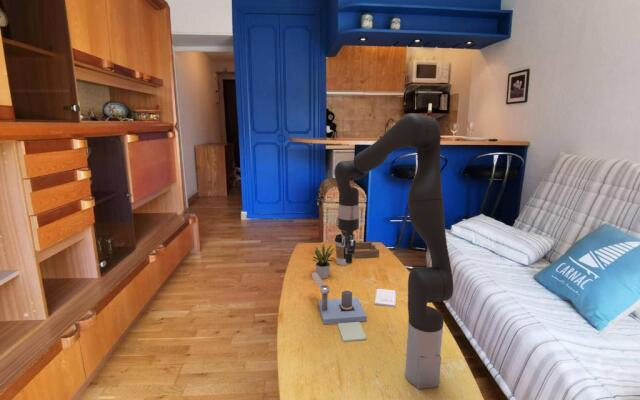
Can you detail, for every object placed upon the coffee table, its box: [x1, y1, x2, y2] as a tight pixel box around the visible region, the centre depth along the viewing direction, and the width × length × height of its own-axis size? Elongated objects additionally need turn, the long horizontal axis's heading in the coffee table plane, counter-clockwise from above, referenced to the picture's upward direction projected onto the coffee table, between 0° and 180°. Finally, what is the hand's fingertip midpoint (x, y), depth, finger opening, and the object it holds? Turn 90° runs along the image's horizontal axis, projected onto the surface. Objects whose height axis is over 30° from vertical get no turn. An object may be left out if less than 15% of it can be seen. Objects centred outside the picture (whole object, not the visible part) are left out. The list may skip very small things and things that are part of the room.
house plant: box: [311, 242, 336, 280], centre depth 164 cm, size 14×14×16 cm
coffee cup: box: [334, 234, 348, 266], centre depth 179 cm, size 8×8×15 cm
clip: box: [311, 271, 331, 294], centre depth 137 cm, size 4×16×2 cm, turn 17°
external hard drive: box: [374, 288, 397, 308], centre depth 145 cm, size 2×8×12 cm
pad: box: [337, 322, 368, 343], centre depth 122 cm, size 10×8×1 cm
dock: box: [317, 293, 368, 325], centre depth 133 cm, size 14×16×9 cm
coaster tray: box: [350, 241, 380, 260], centre depth 194 cm, size 14×14×4 cm
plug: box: [341, 290, 353, 312], centre depth 133 cm, size 5×5×8 cm
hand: (347, 260), depth 130 cm, fingers open, 3 cm apart
